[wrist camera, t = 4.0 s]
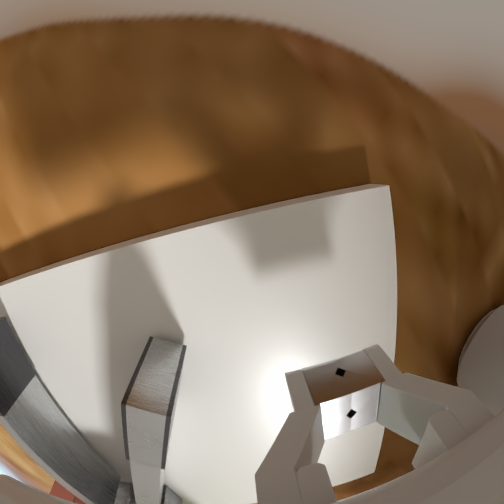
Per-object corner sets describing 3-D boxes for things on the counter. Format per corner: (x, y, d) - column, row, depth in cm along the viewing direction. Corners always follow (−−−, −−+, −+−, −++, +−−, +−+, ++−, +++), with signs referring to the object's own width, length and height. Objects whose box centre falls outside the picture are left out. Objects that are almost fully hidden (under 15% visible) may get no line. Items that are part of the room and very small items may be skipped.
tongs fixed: (182, 499, 15) (179, 544, 10) (132, 495, 15) (124, 536, 10) (40, 306, 10) (-22, 362, 5) (-7, 317, 10) (-57, 359, 5)
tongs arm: (165, 486, 13) (160, 526, 10) (145, 481, 13) (137, 521, 10) (186, 345, 10) (171, 417, 6) (149, 336, 10) (121, 403, 6)
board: (368, 460, 17) (374, 472, 15) (74, 479, 17) (70, 489, 15) (371, 183, 11) (389, 185, 9) (-52, 302, 11) (-62, 309, 9)
